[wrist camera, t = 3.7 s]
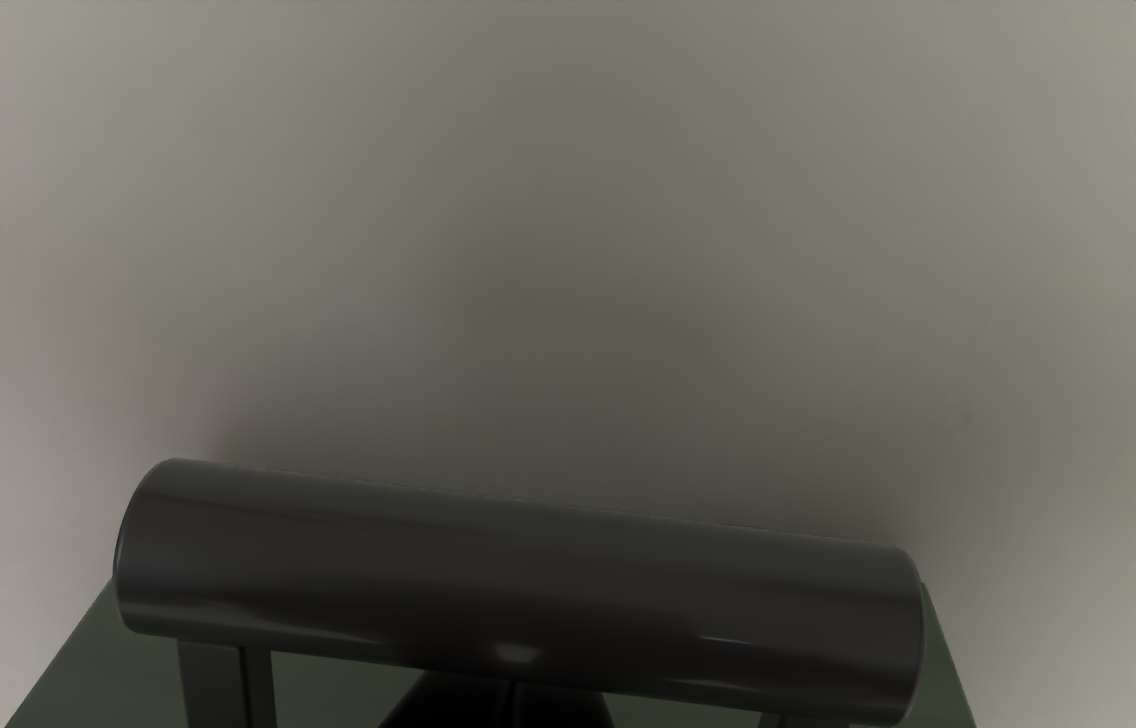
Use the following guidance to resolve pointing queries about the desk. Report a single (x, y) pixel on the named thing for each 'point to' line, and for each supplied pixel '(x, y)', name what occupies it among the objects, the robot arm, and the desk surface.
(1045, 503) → the desk surface
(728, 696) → the drawer
